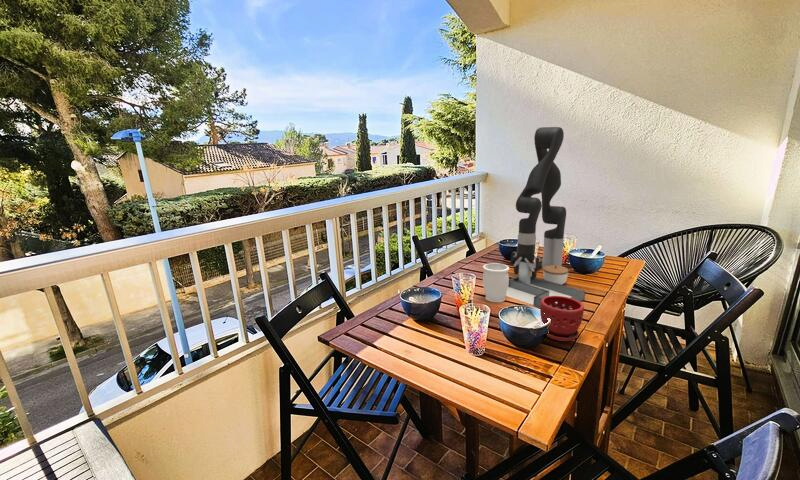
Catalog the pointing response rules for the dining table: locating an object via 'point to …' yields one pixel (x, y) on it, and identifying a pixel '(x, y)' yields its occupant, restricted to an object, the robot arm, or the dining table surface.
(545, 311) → the plant pot
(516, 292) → the channel board
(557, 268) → the lidded jar
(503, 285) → the jar
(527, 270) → the peg
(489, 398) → the dining table surface
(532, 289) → the channel walls
